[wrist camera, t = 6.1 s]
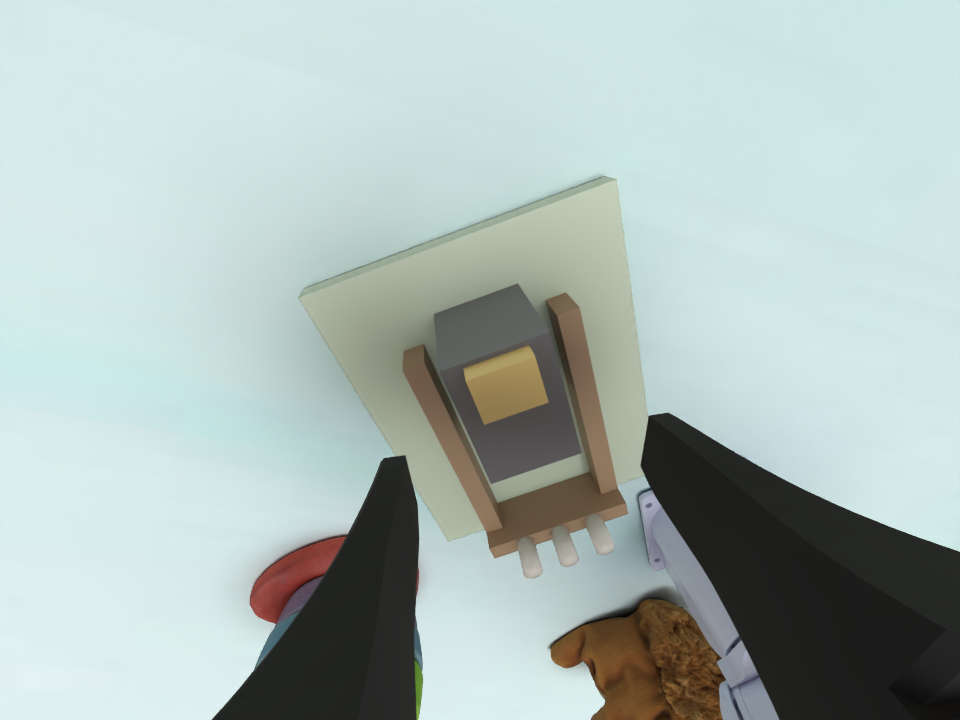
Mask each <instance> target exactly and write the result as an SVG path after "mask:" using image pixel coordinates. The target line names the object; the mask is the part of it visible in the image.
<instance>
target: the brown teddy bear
mask: <svg viewBox="0 0 960 720" xmlns="http://www.w3.org/2000/svg"><path fill="white" fill-rule="evenodd" d="M551 658H552V660H553V661H554V662H555V663H556V664H557V665H559V666H561V667H563V668H570V667H574V666H576V665H578V664H579V663H581V662H582V661H584V662H585V663H586V664H587V666H588V667H589V670H590V673H591V675H592V678H593V680H594V682H595V685H596V687H597V689H598V690H599V692H600V694H601V695H602V697H603V698H604V699H605V704H604V706H603V707H602V708H600V710H599V711H598V712H597V713H595V714H594V715H593V717H592V718H591V720H723V718H722V715H721V711H720V694H719V687H720V684H721V683H722V682H724V681H726V678H725V677H724V675H723V673H722V671H721V669H720V668H719V666H718V664H717V661H719V660H721V659H722V657H720V656H719V655H718V654H717V653H716V652H715V650H714V649H713V648H712V647H711V646H710V644H709V643H708V641H707V640H706V638H705V636H704V635H703V633H702V631H701V629H700V628H699V626H698V624H697V622H696V621H695V619H694V618H693V617H692V615H690V614H689V613H688V612H687V611H686V610H683V608H682V607H678V606H677V605H676V604H674V603H670V602H668V601H664V600H660V599H658V600H657V599H654V600H652V599H646V600H644V601H642V602H641V603H640V604H639V606H638V609H637V610H636V611H635V612H634V613H632V614H631V615H629V616H628V617H614V618H608V619H605V620H600V621H597V622H593V623H589V624H585V625H583V626H580V627H579V628H577V629H576V630H574V631H572V632H571V633H569V634H567V635H566V636H564V637H563V638H562V639H560V640H559V641H558V642H556V643H554V644H553V645H552V647H551Z"/></svg>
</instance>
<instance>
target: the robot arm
mask: <svg viewBox="0 0 960 720" xmlns="http://www.w3.org/2000/svg"><path fill="white" fill-rule="evenodd" d="M640 466H641V468H642V471H643V473H644V475H645V477H646V479H647V481H648V483H649V485H650V487H651V489H652V490H651V491H648V492H645V493H643V494H641V495H640V497H639V504H640V509H641V515H642V521H643V527H644V533H645V538H646V544H647V550H648V556H649V562H650V566H651V568H652V569H653V570H660V569H663V568H666V570H667V571H668V573H669V575H670V577H671V578H672V580H673V582H674V584H675V585H676V587H677V589H678V591H679V592H680V594H681V596H682V598H683V600H684V601H685V603H686V605H687V607H688V608H689V610H690V612H691V614H692V615H693V617H694V619H695V621H696V622H697V624H698V626H699V628H700V629H701V631H702V633H703V635H704V636H705V638H706V640H707V641H708V643H709V644H710V646H711V647H712V648H713V649H714V650H715V652H716V653H717V654H718V655H719V656H720V657H722V659H721V660H719V661H717V664H718V666H719V668H720V669H721V671H722V673H723V675H724V677H725V678H726V681H724V682H722V683H721V684H720V687H719V694H720V711H721V715H722V718H723V720H960V552H959V551H956V550H953V549H950V548H947V547H944V546H941V545H938V544H936V543H933V542H930V541H927V540H924V539H921V538H918V537H916V536H913V535H910V534H908V533H905V532H902V531H899V530H897V529H894V528H891V527H889V526H886V525H884V524H881V523H879V522H877V521H874V520H872V519H869V518H867V517H864V516H862V515H859V514H857V513H854V512H852V511H850V510H847V509H845V508H843V507H840V506H838V505H836V504H834V503H831V502H829V501H827V500H825V499H823V498H821V497H819V496H816V495H814V494H812V493H810V492H808V491H806V490H804V489H801V488H799V487H797V486H795V485H793V484H791V483H789V482H788V481H786V480H784V479H782V478H780V477H778V476H776V475H774V474H772V473H771V472H769V471H767V470H765V469H763V468H761V467H759V466H758V465H756V464H754V463H752V462H751V461H749V460H747V459H745V458H744V457H742V456H740V455H738V454H737V453H735V452H733V451H732V450H730V449H728V448H726V447H725V446H723V445H721V444H720V443H718V442H717V441H715V440H713V439H712V438H710V437H708V436H707V435H705V434H703V433H702V432H700V431H698V430H697V429H695V428H694V427H692V426H690V425H689V424H687V423H685V422H684V421H682V420H680V419H679V418H677V417H675V416H673V415H672V414H670V413H663V414H657V415H651V416H649V417H648V423H647V429H646V435H645V441H644V447H643V453H642V459H641V464H640ZM418 552H419V525H418V507H417V500H416V496H415V492H414V488H413V484H412V480H411V476H410V471H409V467H408V463H407V459H406V455H402V456H396V457H390V458H384V459H383V460H382V461H381V463H380V465H379V468H378V471H377V473H376V476H375V478H374V481H373V483H372V485H371V488H370V490H369V492H368V494H367V497H366V499H365V501H364V503H363V505H362V507H361V509H360V511H359V513H358V515H357V517H356V519H355V521H354V523H353V525H352V527H351V529H350V531H349V533H348V535H347V536H346V538H345V540H344V542H343V544H342V545H341V547H340V549H339V551H338V552H337V554H336V556H335V558H334V559H333V561H332V563H331V564H330V566H329V568H328V569H327V571H326V573H325V574H324V576H323V577H322V579H321V580H320V582H319V583H318V585H317V587H316V588H315V590H314V591H313V593H312V594H311V596H310V597H309V599H308V600H307V601H306V603H305V604H304V606H303V607H302V608H301V610H300V611H299V613H298V614H297V615H296V617H295V618H294V620H293V621H292V622H291V624H290V625H289V627H288V628H287V629H286V631H285V632H284V633H283V635H282V636H281V637H280V639H279V640H278V641H277V643H276V644H275V645H274V646H273V648H272V649H271V650H270V651H269V653H268V654H267V655H266V656H265V657H264V659H263V660H262V661H261V662H260V664H259V665H258V666H257V667H256V669H255V670H254V671H253V672H252V673H251V675H250V676H249V677H248V678H247V680H246V681H245V682H244V683H243V685H242V686H241V687H240V688H239V689H238V691H237V692H236V693H235V694H234V695H233V696H232V698H231V699H230V700H229V701H228V702H227V703H226V704H225V705H224V707H223V708H222V709H221V710H220V711H219V712H218V713H217V714H216V715H215V717H214V718H213V719H212V720H417V713H416V686H415V651H414V627H415V606H416V588H417V571H418Z"/></svg>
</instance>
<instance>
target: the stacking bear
mask: <svg viewBox="0 0 960 720" xmlns="http://www.w3.org/2000/svg"><path fill="white" fill-rule="evenodd" d="M345 538H346V537H339V538H334V539H329V540H326V541H322V542H319V543H316V544H313V545H310V546H308V547H305V548H303V549H300V550H298V551H296V552H294V553H292V554H290V555H288V556H286V557H284V558H283V559H281V560H280V561H278V562H277V563H275V564H274V565H273V566H271V567H270V568H269V569H268V570H267V571H266V572H264V573H263V574H262V576H261V577H260V578H259V579H258V580H257V582H256V583H255V585H254V586H253V589H252V591H251V595H250V606H251V608H252V609H253V611H254V613H255V614H256V615H257V616H258V617H260V618H262V619H264V620H266V621H269V622H272V623H275V624H276V625H275V628H274V630H273V631H272V632H271V634H270V635H269V637H268V639H267V641H266V643H265V645H264V647H263V650H262V652H261V654H260V656H259V659H258V661H257V664H256V666H255V669H256V667H257V666H258V665H259V664H260V662H261V661H262V660H263V659H264V657H265V656H266V655H267V654H268V653H269V651H270V650H271V649H272V648H273V646H274V645H275V644H276V643H277V641H278V640H279V639H280V637H281V636H282V635H283V633H284V632H285V631H286V629H287V628H288V627H289V625H290V624H291V622H292V621H293V620H294V618H295V617H296V615H297V614H298V613H299V611H300V610H301V608H302V607H303V606H304V604H305V603H306V601H307V600H308V599H309V597H310V596H311V594H312V593H313V591H314V590H315V588H316V587H317V585H318V583H319V582H320V580H321V579H322V577H323V576H324V574H325V573H326V571H327V569H328V568H329V566H330V564H331V563H332V561H333V559H334V558H335V556H336V554H337V552H338V551H339V549H340V547H341V545H342V544H343V542H344V540H345ZM418 582H419V570H418V571H417V588H416V595H417V590H418ZM414 651H415V686H416V713H417V720H418V718H419V713H420V705H421V697H422V686H423V675H422V668H423V662H422V652H421V645H420V638H419V633H418V630H417V622H416V616H415V627H414ZM255 669H254V670H255Z"/></svg>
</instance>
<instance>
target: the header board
mask: <svg viewBox="0 0 960 720" xmlns="http://www.w3.org/2000/svg"><path fill="white" fill-rule="evenodd" d="M517 283H518V284H519V286H520V287H521V289H522V290H523V292H524V293H525V295H526V297H527V298H528V300H529V301H530V303H531V304H532V306H533V307H534V309H535V310H536V312H537V313H538V315H539V316H540V318H541V319H542V321H543V322H544V324H545V325H546V327H547V328H548V330H549V331H550V334H551V338H552V342H553V345H554V349H555V353H556V357H557V361H558V364H559V368H560V372H561V376H562V380H563V383H564V387H565V391H566V395H567V398H568V402H569V406H570V410H571V414H572V417H573V421H574V425H575V429H576V433H577V436H578V440H579V444H580V448H581V452H582V453H581V454H578V455H575V456H572V457H569V458H566V459H563V460H560V461H557V462H555V463H552V464H549V465H546V466H543V467H540V468H537V469H534V470H531V471H528V472H525V473H522V474H520V475H517V476H514V477H511V478H508V479H505V480H502V481H499V482H496V483H493V484H491V483H490V481H489V478H488V476H487V474H486V472H485V470H484V468H483V465H482V463H481V461H480V459H479V457H478V455H477V452H476V450H475V448H474V446H473V444H472V442H471V439H470V437H469V435H468V433H467V431H466V429H465V426H464V424H463V422H462V420H461V418H460V415H459V413H458V411H457V409H456V407H455V405H454V402H453V400H452V398H451V396H450V394H449V392H448V389H447V387H446V385H445V383H444V381H443V379H442V376H441V374H440V372H439V363H438V352H437V342H436V331H435V321H434V314H435V313H438V312H441V311H443V310H446V309H449V308H452V307H454V306H457V305H460V304H463V303H465V302H468V301H471V300H474V299H476V298H479V297H482V296H485V295H487V294H490V293H493V292H496V291H498V290H501V289H504V288H507V287H509V286H512V285H515V284H517ZM298 298H299V300H300V302H301V303H302V305H303V306H304V308H305V310H306V311H307V313H308V315H309V316H310V318H311V319H312V321H313V323H314V324H315V326H316V328H317V329H318V331H319V332H320V334H321V336H322V337H323V339H324V341H325V342H326V344H327V345H328V347H329V349H330V350H331V352H332V354H333V355H334V357H335V358H336V360H337V362H338V363H339V365H340V367H341V368H342V370H343V371H344V373H345V375H346V376H347V378H348V380H349V381H350V383H351V384H352V386H353V388H354V389H355V391H356V392H357V394H358V396H359V397H360V399H361V401H362V402H363V404H364V405H365V407H366V409H367V410H368V412H369V414H370V415H371V417H372V418H373V420H374V422H375V423H376V425H377V427H378V428H379V430H380V431H381V433H382V435H383V436H384V438H385V440H386V441H387V443H388V444H389V446H390V448H391V449H392V451H393V453H394V454H395V456H402V455H406V459H407V463H408V467H409V471H410V476H411V480H412V483H413V485H414V487H415V488H416V490H417V492H418V493H419V495H420V496H421V498H422V500H423V501H424V503H425V505H426V506H427V508H428V509H429V511H430V513H431V514H432V516H433V517H434V519H435V521H436V522H437V524H438V526H439V527H440V529H441V530H442V532H443V534H444V535H445V537H446V539H447V540H448V542H449V541H452V540H455V539H458V538H461V537H464V536H467V535H470V534H473V533H476V532H479V531H482V530H485V531H486V533H487V537H488V543H489V549H490V551H491V552H492V554H493V556H494V558H497V557H500V556H503V555H506V554H509V553H512V552H515V551H518V552H519V556H520V560H521V564H522V568H523V572H524V576H525V577H526V578H536V577H538V576H540V575H541V574H542V572H543V570H542V567H541V563H540V560H539V556H538V553H537V549H536V546H535V545H536V544H539V543H542V542H545V541H548V540H551V539H552V540H553V543H554V546H555V549H556V552H557V555H558V558H559V561H560V564H561V565H562V566H564V567H569V566H572V565H574V564H576V563H577V562H578V560H579V558H578V555H577V552H576V550H575V547H574V544H573V542H572V539H571V537H570V534H569V533H572V532H575V531H578V530H581V529H584V528H587V530H588V533H589V535H590V537H591V540H592V542H593V544H594V547H595V549H596V551H597V553H598V554H600V555H606V554H609V553H611V552H612V551H613V550H614V549H615V545H614V542H613V540H612V538H611V536H610V534H609V532H608V530H607V528H606V526H605V524H604V522H605V521H608V520H611V519H614V518H617V517H620V516H623V515H626V514H628V511H627V506H626V502H625V501H624V499H623V497H622V495H621V493H620V492H619V490H618V487H617V485H618V484H621V483H624V482H627V481H630V480H633V479H636V478H639V477H642V476H645V475H644V473H643V471H642V468H641V466H640V464H641V459H642V453H643V447H644V441H645V435H646V429H647V423H648V414H647V406H646V399H645V391H644V384H643V376H642V368H641V361H640V353H639V346H638V338H637V330H636V323H635V315H634V307H633V300H632V292H631V285H630V277H629V269H628V262H627V254H626V247H625V239H624V231H623V224H622V216H621V209H620V201H619V193H618V186H617V179H614V178H610V177H606V176H604V177H601V178H599V179H596V180H593V181H591V182H588V183H585V184H583V185H580V186H577V187H575V188H572V189H569V190H567V191H564V192H561V193H559V194H556V195H553V196H551V197H548V198H545V199H542V200H540V201H537V202H534V203H532V204H529V205H526V206H524V207H521V208H518V209H516V210H513V211H510V212H508V213H505V214H502V215H500V216H497V217H494V218H492V219H489V220H486V221H484V222H481V223H478V224H476V225H473V226H470V227H467V228H465V229H462V230H459V231H457V232H454V233H451V234H449V235H446V236H443V237H441V238H438V239H435V240H433V241H430V242H427V243H425V244H422V245H419V246H417V247H414V248H411V249H409V250H406V251H403V252H401V253H398V254H395V255H393V256H390V257H387V258H384V259H382V260H379V261H376V262H374V263H371V264H368V265H366V266H363V267H360V268H358V269H355V270H352V271H350V272H347V273H344V274H342V275H339V276H336V277H334V278H331V279H328V280H326V281H323V282H320V283H318V284H315V285H312V286H309V287H307V288H305V289H304V290H303V292H302V293H301V295H300V296H299V297H298Z"/></svg>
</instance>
